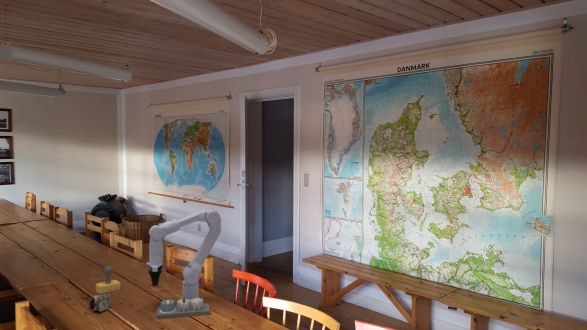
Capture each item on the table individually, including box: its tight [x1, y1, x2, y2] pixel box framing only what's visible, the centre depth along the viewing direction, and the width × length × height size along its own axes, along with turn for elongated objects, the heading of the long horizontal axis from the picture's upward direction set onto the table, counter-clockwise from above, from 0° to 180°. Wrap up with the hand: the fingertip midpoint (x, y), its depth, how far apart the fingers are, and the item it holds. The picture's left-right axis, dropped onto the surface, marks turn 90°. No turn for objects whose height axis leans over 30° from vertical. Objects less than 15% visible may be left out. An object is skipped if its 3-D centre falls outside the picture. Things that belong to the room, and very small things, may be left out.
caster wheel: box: [89, 293, 111, 312], centre depth 187 cm, size 7×11×10 cm
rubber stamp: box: [95, 266, 121, 295], centre depth 209 cm, size 10×6×12 cm, turn 133°
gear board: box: [155, 297, 211, 320], centre depth 184 cm, size 9×22×7 cm, turn 105°
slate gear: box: [160, 298, 176, 313], centre depth 182 cm, size 6×6×4 cm
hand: (155, 283), depth 190 cm, fingers open, 7 cm apart
